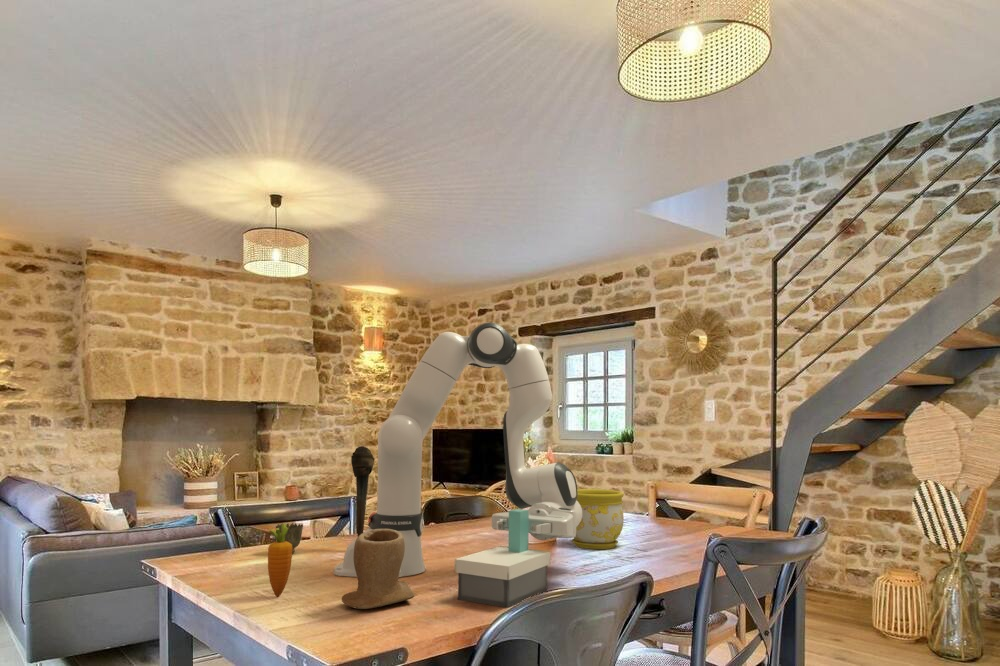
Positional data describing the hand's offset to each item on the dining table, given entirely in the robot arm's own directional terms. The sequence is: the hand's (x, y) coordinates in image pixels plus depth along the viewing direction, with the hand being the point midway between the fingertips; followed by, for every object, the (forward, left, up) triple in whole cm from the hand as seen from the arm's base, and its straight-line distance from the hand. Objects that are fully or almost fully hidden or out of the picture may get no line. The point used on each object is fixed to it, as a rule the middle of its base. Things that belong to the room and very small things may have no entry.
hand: (516, 527), depth 154 cm
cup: (-64, +37, -14) cm, 75 cm away
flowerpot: (+25, +57, -14) cm, 64 cm away
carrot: (-51, -10, -14) cm, 54 cm away
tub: (-3, -5, -14) cm, 15 cm away
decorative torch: (-45, +42, -14) cm, 63 cm away
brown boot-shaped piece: (-28, -15, -14) cm, 34 cm away
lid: (-3, -5, -8) cm, 10 cm away
